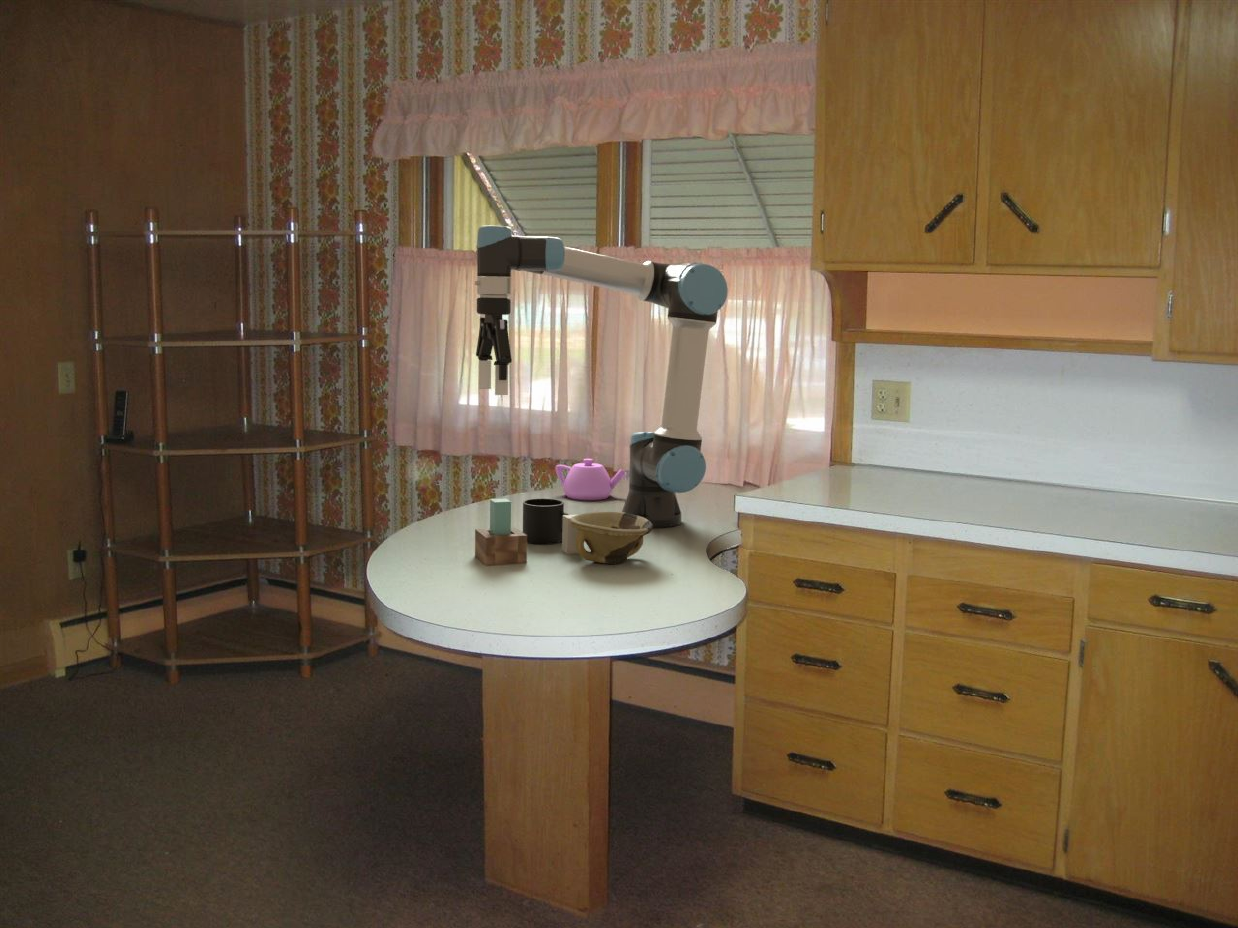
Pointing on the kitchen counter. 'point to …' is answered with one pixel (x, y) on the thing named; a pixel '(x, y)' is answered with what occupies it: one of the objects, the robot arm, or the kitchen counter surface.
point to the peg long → (500, 516)
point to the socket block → (501, 547)
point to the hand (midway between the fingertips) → (492, 392)
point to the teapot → (588, 480)
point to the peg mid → (569, 535)
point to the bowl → (609, 535)
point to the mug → (543, 520)
